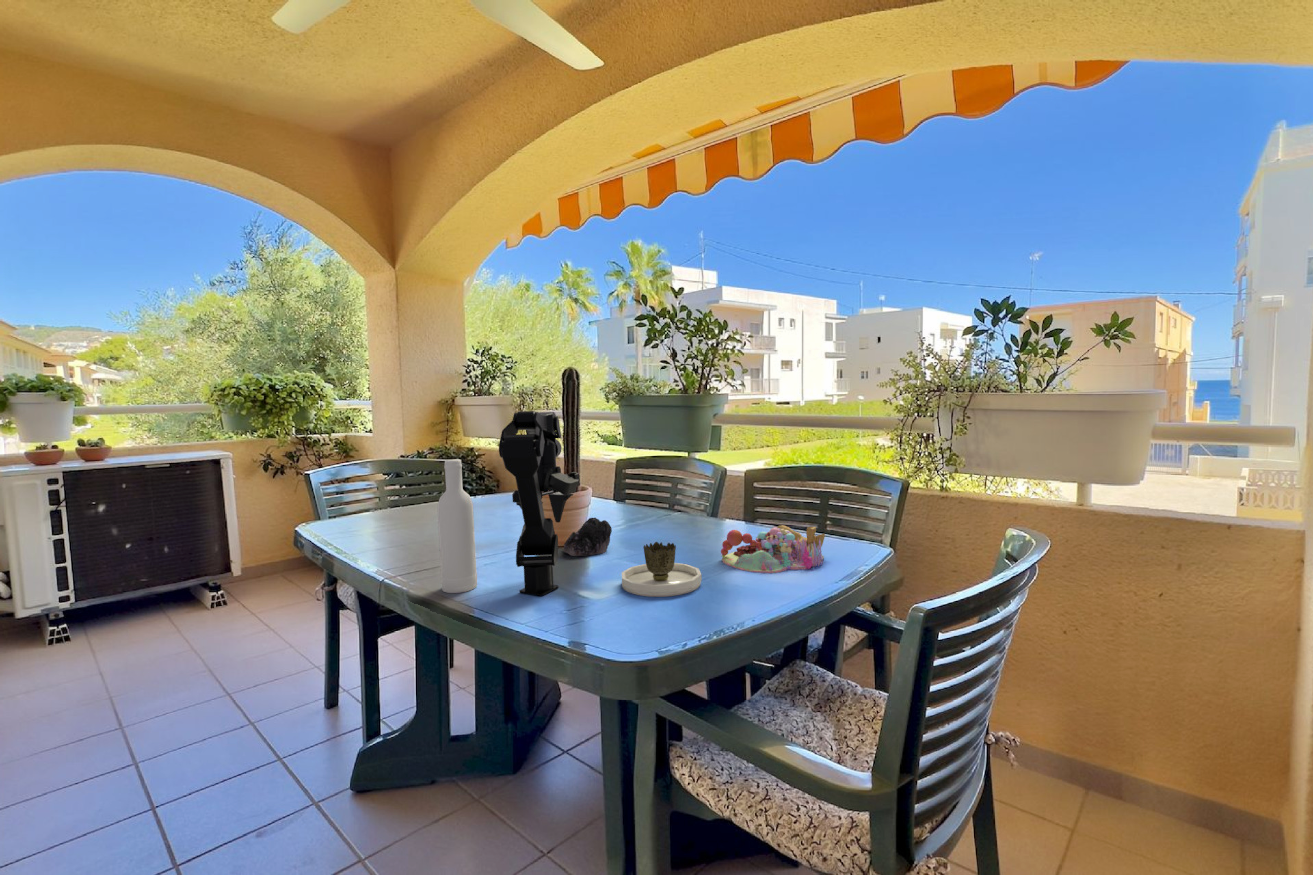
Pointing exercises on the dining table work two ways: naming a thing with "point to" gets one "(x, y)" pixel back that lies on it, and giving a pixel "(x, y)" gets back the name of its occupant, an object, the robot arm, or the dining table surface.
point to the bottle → (456, 533)
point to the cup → (660, 559)
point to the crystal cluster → (589, 538)
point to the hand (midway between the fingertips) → (547, 525)
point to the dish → (677, 583)
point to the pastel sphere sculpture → (774, 550)
